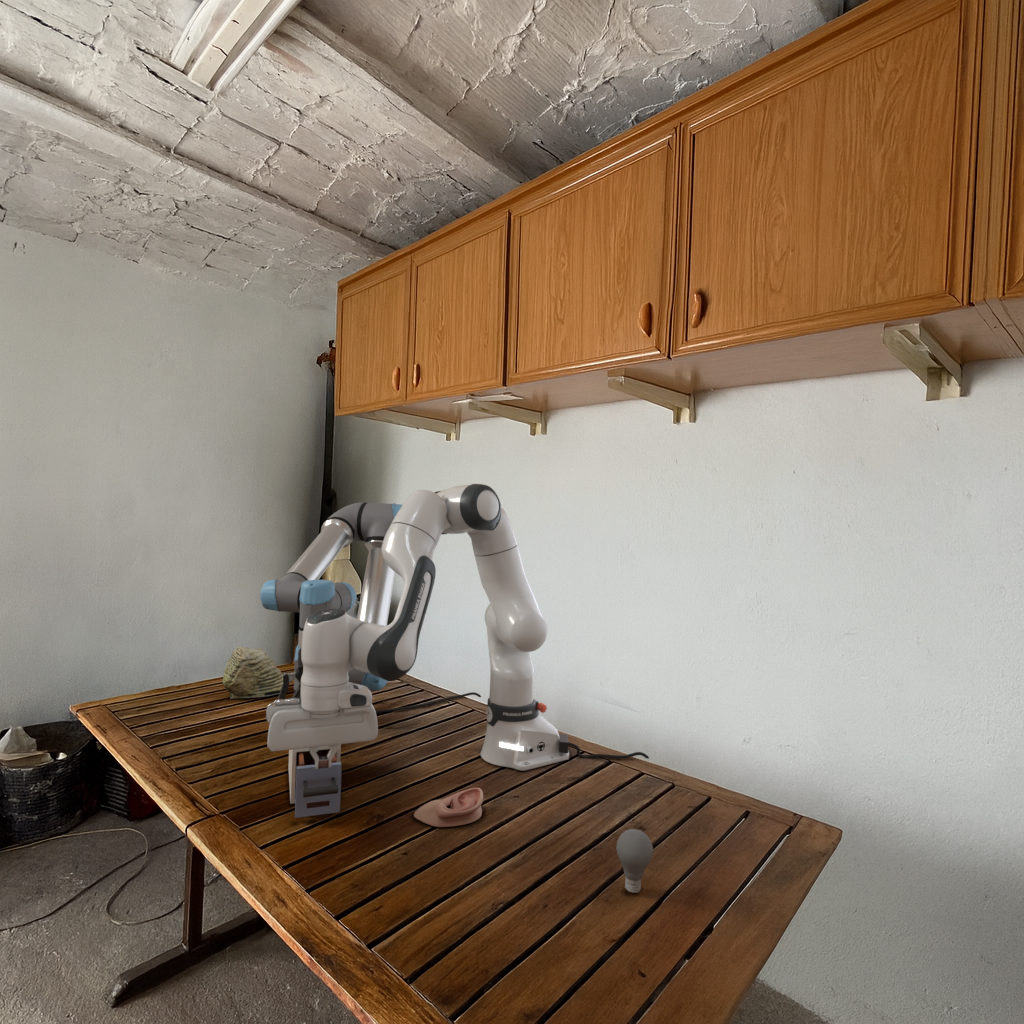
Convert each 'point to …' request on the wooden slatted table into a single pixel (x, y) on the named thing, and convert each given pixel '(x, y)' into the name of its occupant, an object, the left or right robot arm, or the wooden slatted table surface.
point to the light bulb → (634, 857)
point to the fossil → (251, 674)
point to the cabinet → (293, 767)
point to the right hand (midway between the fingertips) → (323, 767)
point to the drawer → (317, 786)
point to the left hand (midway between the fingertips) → (311, 745)
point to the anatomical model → (452, 809)
